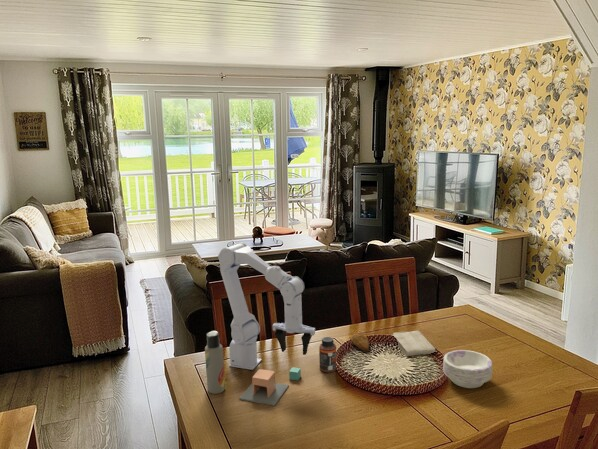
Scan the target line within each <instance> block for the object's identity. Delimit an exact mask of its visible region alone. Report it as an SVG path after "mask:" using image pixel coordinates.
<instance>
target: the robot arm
mask: <svg viewBox="0 0 598 449" xmlns="http://www.w3.org/2000/svg"><path fill="white" fill-rule="evenodd" d="M217 258H218V259H217V260H219V265H220V266H219V270H220V271H219V272H220V275H221V277H222V282H223V284H224V288H225V292H226V295H227V298H228V301H229V304H230V308H231V311H232V315H233V318H232V321H231V323H230V328H231V333H230V334H231V338H232V340H231V342H230V344H229V348H228V349H229V351H228V352H229V365H228V366H229V367H232V368H240V369H244V370H245V369H246V370H251V371H253V370H254V369H256V367H257V366H258V365H259V363H260V362H262V358H259V357H258V350H257V349H258V347H257V346H258V345H257V339H258V335H259V334H260V332H261V327H260V324H259V322H258V320H257V319H256V317H255V316H256V315H254V314H252V313H251V312H249V308H248V305H247V302H246V298H245V295H244V292H243V289H242V285H241V282H240V278H239V275H238V270H239V267H240V266H241V265H248V266H250V267H251V268H253V269H255V270H256V271H258V272H259V273H261V274H263V275H264V278H265V279H264V280H266V281H267V282H269V284H271V285H272V286H274V287H276V288H277V289H278V290H279V291H280V293H281V294H280V295H281V296H282V299H283V303H284V322H281V323H280V322H274V323H273V324H272V331H274V337H275V338H276V340H277V341H278V343H279V346H280V350H281V352H282V353H284V352H285V351H286V350H287V340H286V339H287V334H294V333H298V334H303V335H302V336H301V342H302V343H301V344H302V355H304V356H306V355H307V353H308V349H309V345H310V342H311V339H312V336H315V335H316V327H312V326H308V325H305V324H303V310H302V309H303V306H302V301H303V300H302V293H303V292H304V290H305V282H304V281H303V279H301V278H300V277H299V276H292V275H291V274H288V273H287V272H286V271H284V270H283V269H282V268H281V267H280V266H279V265H272V266H271V265H270V264H269V263H267V262H266V261H265V260H263V259H262V258H261V257H259V256H258V255H257V254H256V253H255V252H254V251H253V250H252V247H250V246H249V245H247V244H246V243H244V242H238V243H236V244H233V245H229V246H227V247H223V248H222V249H221V250H220V252H219V253H218V255H217Z"/></svg>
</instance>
